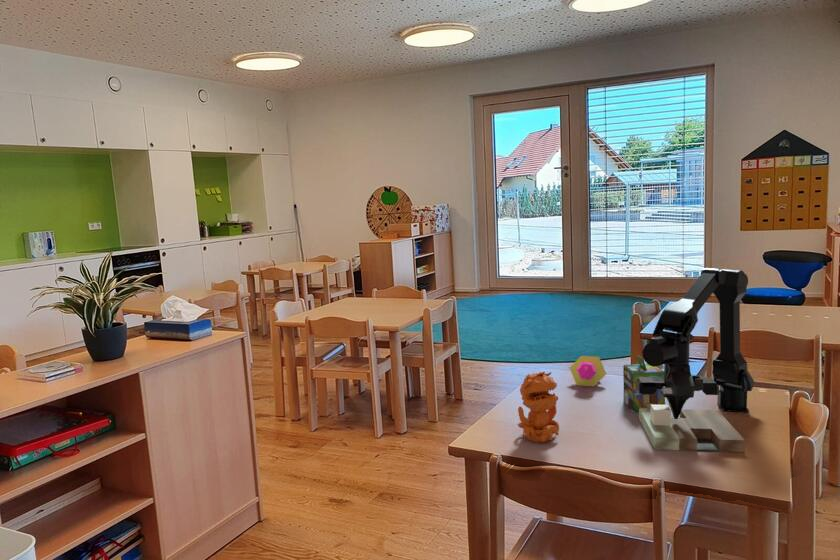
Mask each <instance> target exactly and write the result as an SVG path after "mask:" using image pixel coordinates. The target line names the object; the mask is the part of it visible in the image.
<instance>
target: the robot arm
mask: <svg viewBox="0 0 840 560" xmlns="http://www.w3.org/2000/svg"><path fill="white" fill-rule="evenodd" d="M748 284H749V277H748V275H747V274H746V273H745V272H744V271H743V270H740V269H727V268H714V267H705V268H702V269H701V272H700V275H699V276H698V277H697V279H696V280H695V281H694V283H693V284H692V285H691V286H690V288H689V289H688V291H686V292H685V294H684V295H683V296H682V298H680V300H677V301H675V302H673V303H670V304H669V305H668V306H667V307H666V308H664V310H663V311H662V312H661V313H660V316H659V318H658V320H657V322H656V325H655V327H654V330H653V333H652V337H650V338H649V343H647V344H646V345H644V347H643V349H642V351H641V354H642V358H643V360H644V363H645V364H648V365H650V366H653V367H659V366H662V365H664V366H663V367H664V368H663V371H664V382H655V381H654V380H653V378H652V377H638V378H637V379H636V389H637V390H638V392H639V393H640V394H654V393H655V392H656V389H659V391H660V393H661V394H662V396H663V397H665V399H666V400H667V402H668V405H669V408H670V410H671V414H672V418H674V419H678V418H680V412H681V410H682V409H684V405H685V403H686V402H687V401H688V400H689V399H692V398H694V396H695V392H701V391H702V393H704V394H705V395H706V396H717V405H718V406H719V407H720V409H721V410H722V411H724V412H738V413H739V412H741V413H742V412H744V413H747V412H749V411H750V409H749V408H748V392H752V391H753V388H754V384H755V380H754V378H753V377H752V374H750V371H749V370H748V362H747V361H746V359H745V357H744V356H743V354H742V353H741V326H740V325H741V318H740V317H741V316H740V314H741V309H740V308H741V307H740V306H741V304H740V303H741V300H742V299H743V297H744V296H745V295H746V293H747V286H748ZM712 295H714V296H715V298H716V299H717V301H718V303H719V351H720V352H719V354H718V355H717V356H716V358H714V359H713V361H712V371H711V374H712V377H713V378H712V377H703V375H695V374H694V375H693V374H692V373H691V365H690V343H691V342H690V341H691V340H694V338H695V337H694V335H693V334H692V332H693V331H694V329H695V327H696V326H697V323H698V321H699V319H698V314H699V312H700V310H701V309H702V308H703V306H704V305H705V304H706V302H708V300H709V298H710V297H711V296H712Z"/></svg>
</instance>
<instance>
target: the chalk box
mask: <svg viewBox="0 0 840 560" xmlns="http://www.w3.org/2000/svg"><path fill="white" fill-rule="evenodd" d="M636 356H637V360H638V363H634V364H624V365H623V368H622V369H623V371H622V372H623V399H622V400H623V401H622V402H623V403H624V404H625V405H626V406H627V407H628V408H629V409H630V410H631V411H632V413H639V408H648V409H651V404H653V405H666V397H663V396H662V394H661V393H660V391H659V389H656V392H655V393H654V394H640V393H639V392H638V390H637V389H636V379H637V378H638V377H652V378H653V380H654V381H655V382H664V369H662V368H660V367H659V366H657V367H653V366H650V365H648V364H647V363H646V362H645V360H644V359H643V357H642V356H640V355H639V354H637V355H636Z"/></svg>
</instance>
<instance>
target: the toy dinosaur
mask: <svg viewBox="0 0 840 560" xmlns="http://www.w3.org/2000/svg"><path fill="white" fill-rule="evenodd" d="M552 373H553V372H552V371H550V372H548V373H546V371H539V372H535V373H532V374H530V373H528V374H527V375H525V378H524V380H523V382H522V384H521V385H520V387H519V392H520V393H519V394H520V395H521V400H522V401H523V402H522V405H524V406H525V407H526V408H527V409H528V410H529V412H528V415H527V417H526V416H525V413H524V408H523V407H522V406H518V408H517V412H518V416H519V420H520V422H519V423H518V424H517V426H518V427H519V428H520V429H521V428H522V429H523V430H522V431H523V434H522V437H526V438H527V439H528V440H529V441H531V442H534V443H546V442H548V441H550V440H551V441H553V435H556V436H559V431H560V425H559V422H558V421H556V420H554V419H555V417H556V414H557V413H558V410H557V402H558V400H559V396H558V395H556V393H555V392H553V394H552V393H550V392H551V391H554V390H555V389H556V388H557V387H558V382H555V380H554V377H552V376H550V375H552Z"/></svg>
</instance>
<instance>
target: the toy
mask: <svg viewBox="0 0 840 560" xmlns="http://www.w3.org/2000/svg"><path fill="white" fill-rule="evenodd" d="M569 370H570V373H571V375H572V377H573V380H574V382H575V385H576V386H587V387H589V386H590V387H595V386H596V385H597V384H598V383H599V382H600V381H601V380H602V379H603V378H604V377H605V376H606V375H607V372H606V370H605V367H604V365H603V363H602V360H601V357H600V356H592V355H581V356H579V357H578V358H577V360H576V361H575V362H574V363H573V364H572V365H570V367H569Z"/></svg>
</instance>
